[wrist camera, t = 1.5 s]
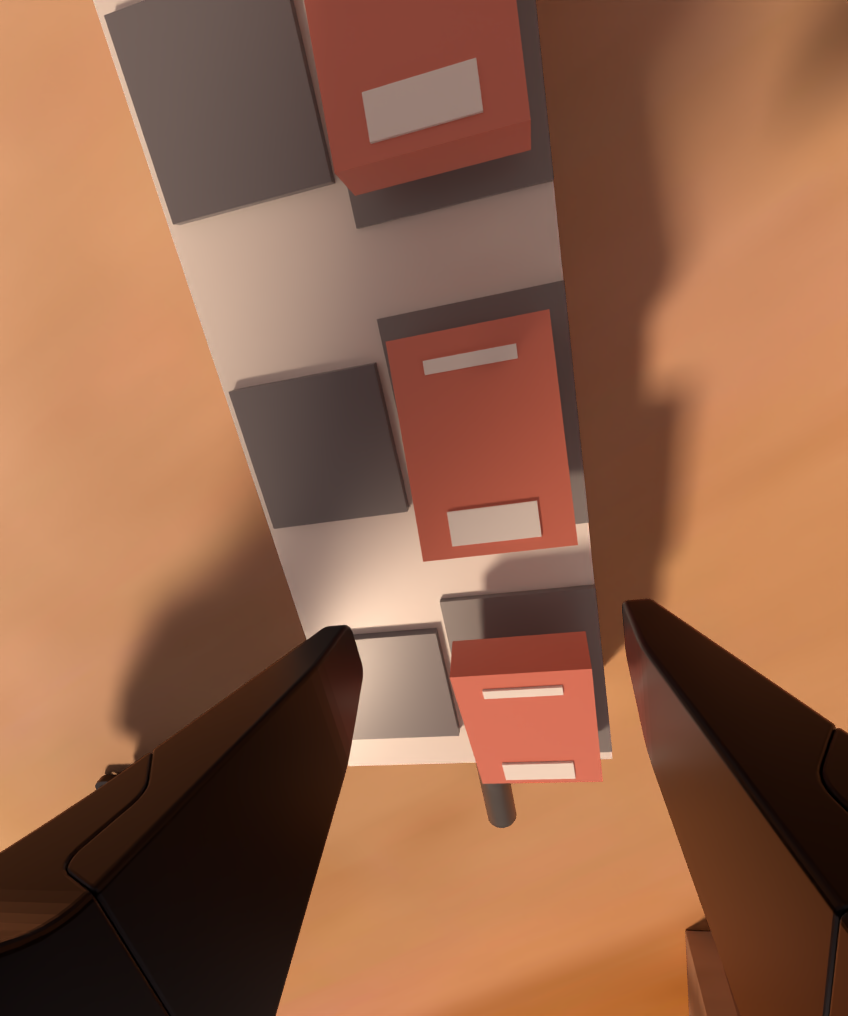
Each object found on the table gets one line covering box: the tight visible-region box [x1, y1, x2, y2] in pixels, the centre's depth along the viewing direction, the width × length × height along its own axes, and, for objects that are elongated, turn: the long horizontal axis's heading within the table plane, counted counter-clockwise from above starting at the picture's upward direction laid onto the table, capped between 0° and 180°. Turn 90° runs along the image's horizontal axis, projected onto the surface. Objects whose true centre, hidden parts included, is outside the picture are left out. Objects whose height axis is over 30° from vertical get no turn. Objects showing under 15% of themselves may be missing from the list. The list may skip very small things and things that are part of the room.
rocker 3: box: [304, 0, 531, 196], centre depth 10 cm, size 5×4×1 cm
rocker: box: [386, 309, 578, 562], centre depth 13 cm, size 5×4×1 cm
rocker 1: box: [450, 631, 603, 784], centre depth 16 cm, size 5×4×1 cm
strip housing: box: [93, 0, 612, 828], centre depth 17 cm, size 29×9×4 cm, turn 11°
